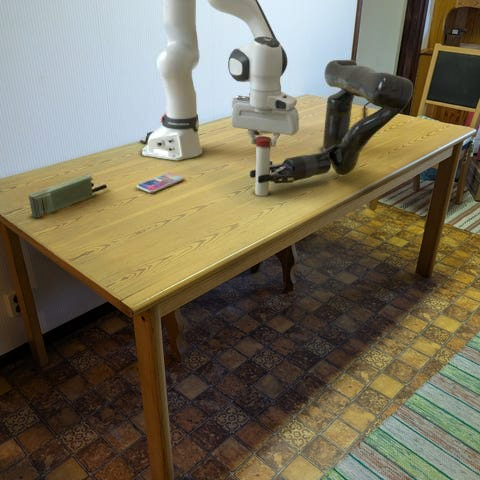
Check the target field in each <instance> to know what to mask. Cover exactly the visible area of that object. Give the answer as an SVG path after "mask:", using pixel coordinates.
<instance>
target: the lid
mask: <svg viewBox="0 0 480 480" xmlns="http://www.w3.org/2000/svg"><path fill="white" fill-rule="evenodd" d="M271 140H272V138H271V137H270V136H265V135H263V136H262V135H261V136H260V135H259V136H257V138H256V145H255V146H259V147H269V145H270V144H269V141H271Z"/></svg>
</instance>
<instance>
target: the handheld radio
mask: <svg viewBox="0 0 480 480" xmlns="http://www.w3.org/2000/svg"><path fill="white" fill-rule="evenodd" d="M92 176H93V174H91V173H88V174H85V175H83V176H79V177H76V178H74V179H71V180H68V181H65V182H62V183H59V184H57V185H54V186H50V187H47V188H44V189H42V190H39V191H37V192H33V193H30V194H28V200H29V206H30V210H31V216H32V217H34V218H35V219H36V218H39V217H42V216H45V215H47V214H50V213H53V212H56V211H58V210H60V209H63V208H66V207H68V206H72V205H73V204H76V203H80V202H82V201H84V200H87V199H90V198H93V196H95V195H96V194H95V193H97V192H100V191H102V190H106V189H107V188H108V186H107V184H102V185H99V186H96V187H94V186H95V183H94V182H92V181H93V180H94V178H93V177H92ZM93 187H94V188H93Z"/></svg>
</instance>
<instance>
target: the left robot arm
mask: <svg viewBox="0 0 480 480" xmlns="http://www.w3.org/2000/svg"><path fill="white" fill-rule="evenodd" d="M206 1H207V2H208V4H209V6H211V7H212V8H213V9H215V10H216V11H218V12H220V13H224V14H227V15H231V16H233V17H235V18H238V19H239V20H242V22H244V23H245V24H246V25H247V26H248V28H249V30H250V33H251V34H252V36H253V40H252V41H251V42H250V43H248V44H246V45H243V46H239V47H237V48H235V49H233V50H232V51H231V52H230V55H229V57H228V61H227V69H228V73H229V75H230V76H231V77H232V78H233V80H235V81H236V82H240V83H247V82H249V84H250V86H249V93H250V95H249V96H250V97H249V96H243V95H236V96H234V97H233V98H232V100H231V108H232V110H231V117H230V118H231V120H230V124H231V126H232V128H236V129H243V130H247V134H248V136H249V138H250V145H255V146H257V145H256V138H257V137H258V136H257V137H256V134H254V133H253V132H254V131H255V130H257V131H258V132H264V133H272V136H273V139H271V141H269V144H270V145H269V147H270V148H276V146H277V141H278V139H279V137H280V136H281V135H284V136H285V135H286V136H294V135H295V134H296V133H297V132H298V131H299V127H300V126H299V125H300V118H299V117H300V116H299V111H298V109H297V107H296V106H297V103H298V100H297V98H296V97H293V96H291V95H290V94H287V93H285V92H283V91H282V84H281V77H282V76H283V75H284V73H285V72H286V69H287V67H288V63H289V62H288V55H287V53H286V51H285V49H284V47H283V46H282V45H281V41H279V40H278V38H277V37H276V35H275V33H274V31H273V29H272V27H271V24H270V22H269V20H268V18H267V16H266V14H265V12H264V10H263V8H262V6H261V4H260V2H259V0H206ZM161 16H162V18H161V19H162V20H161V21H162V26H163V27H164V31H165V37H166V43H167V45H166V47H164V48H163V49H162V50H161V51H160V52H159V54H158V57H157V59H156V68H157V71H158V73H159V75H160V79H161V82H162V86H163V90H164V98H165V113H163V114H162V116H161V118H160V123H161V125H159V127H157V128H156V129H155V130H153V131H149V132H147V133H146V135H145V141H144V140H142V139H141V140H140V141H139V142H140V143H142V144H144V145H145V144H147V145H145V146H144V147H143V148H142V150H141V155H142V156H145V157H152V158H157V159H164V160H170V161H176V162H178V161H182V160H185V159H190V158H191V159H192V158H196V157H198V156H200V155H202V153H203V149H202V148H203V147H202V145H201V142H200V134H199V128H200V121H199V114H198V103H197V91H196V89H195V86H194V80H193V70H195V69H196V68H197V66H198V64H199V62H200V56H201V54H200V50H199V39H198V32H197V0H161Z"/></svg>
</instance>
